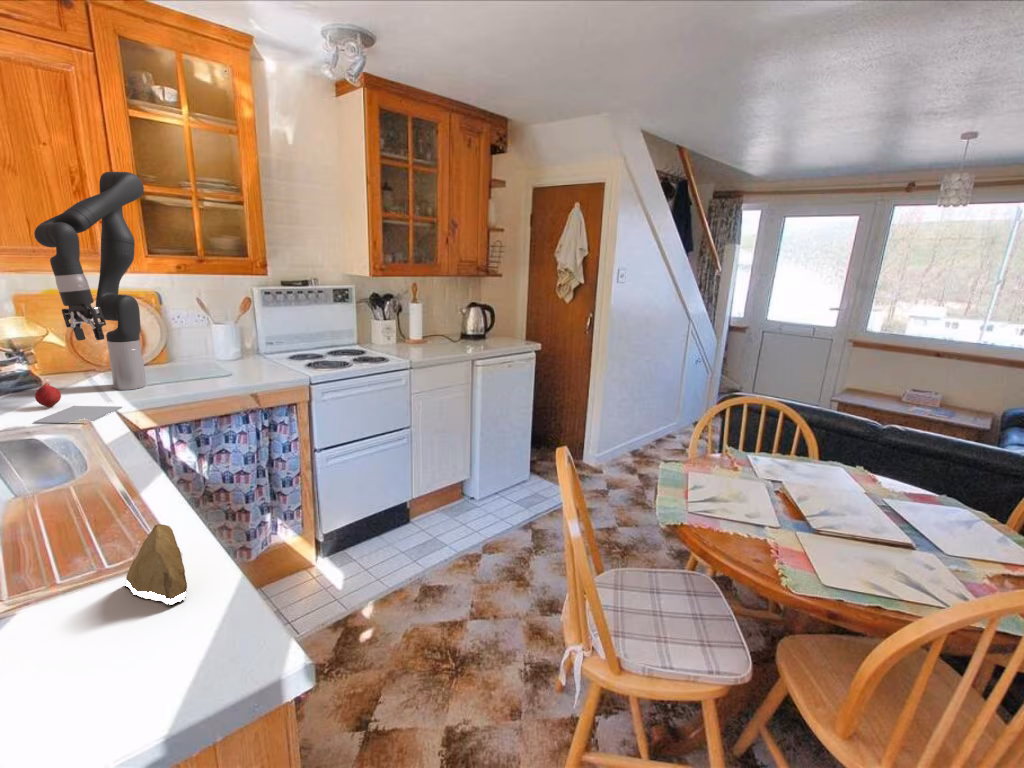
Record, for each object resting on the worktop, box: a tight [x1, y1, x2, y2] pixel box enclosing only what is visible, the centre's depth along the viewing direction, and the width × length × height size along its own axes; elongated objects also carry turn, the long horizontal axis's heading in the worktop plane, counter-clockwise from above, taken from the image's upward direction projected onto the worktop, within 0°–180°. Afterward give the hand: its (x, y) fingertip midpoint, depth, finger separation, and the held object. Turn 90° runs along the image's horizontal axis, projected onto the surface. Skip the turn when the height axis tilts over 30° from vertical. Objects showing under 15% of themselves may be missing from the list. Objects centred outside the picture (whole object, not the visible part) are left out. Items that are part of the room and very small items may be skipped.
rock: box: [126, 523, 188, 599], centre depth 75 cm, size 11×9×10 cm
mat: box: [33, 405, 123, 423], centre depth 149 cm, size 16×14×1 cm
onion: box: [34, 382, 62, 409], centre depth 153 cm, size 6×6×8 cm
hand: (90, 339), depth 161 cm, fingers open, 8 cm apart
